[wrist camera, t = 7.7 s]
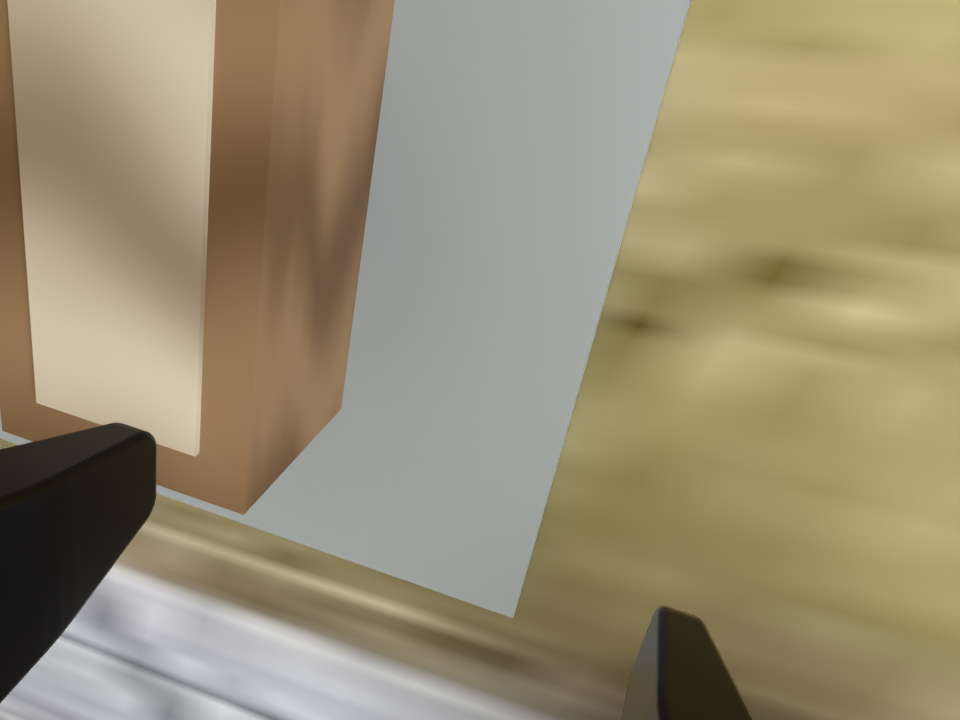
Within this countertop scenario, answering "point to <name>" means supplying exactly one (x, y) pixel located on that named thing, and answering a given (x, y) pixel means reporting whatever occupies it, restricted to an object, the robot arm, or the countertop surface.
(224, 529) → the countertop surface
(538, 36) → the board
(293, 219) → the frame
